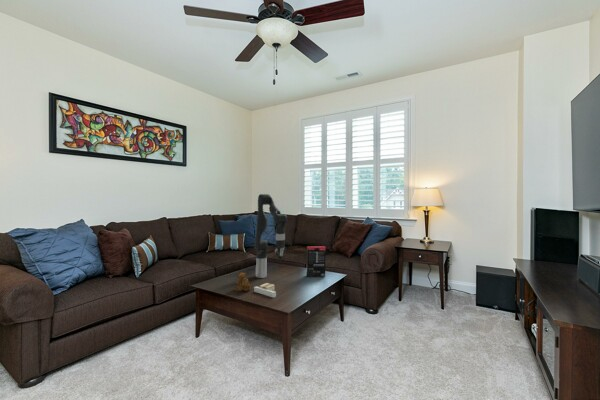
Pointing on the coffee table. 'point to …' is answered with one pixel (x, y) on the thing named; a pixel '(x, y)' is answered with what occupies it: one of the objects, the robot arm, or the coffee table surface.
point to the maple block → (268, 286)
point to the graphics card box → (316, 261)
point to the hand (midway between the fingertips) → (280, 260)
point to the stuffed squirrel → (242, 283)
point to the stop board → (265, 291)
